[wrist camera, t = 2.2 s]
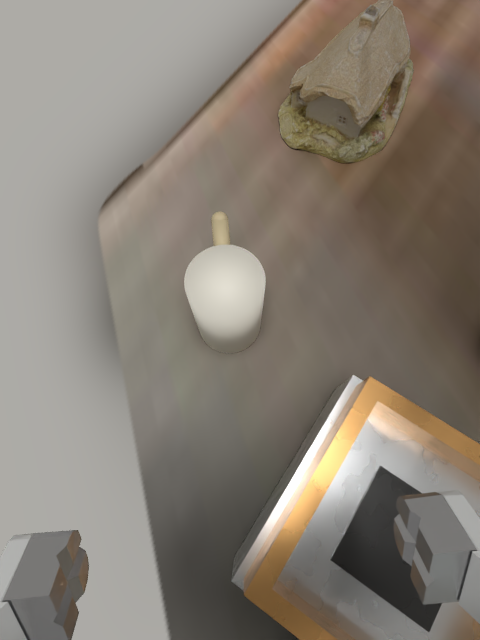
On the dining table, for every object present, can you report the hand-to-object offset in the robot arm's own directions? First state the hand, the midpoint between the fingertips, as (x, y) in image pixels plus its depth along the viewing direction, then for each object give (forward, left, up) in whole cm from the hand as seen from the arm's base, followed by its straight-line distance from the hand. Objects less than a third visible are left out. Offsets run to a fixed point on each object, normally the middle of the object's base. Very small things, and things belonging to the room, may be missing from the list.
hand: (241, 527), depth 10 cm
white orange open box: (-1, +9, -21) cm, 23 cm away
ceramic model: (-35, -11, -21) cm, 42 cm away
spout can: (-11, -9, -21) cm, 25 cm away
